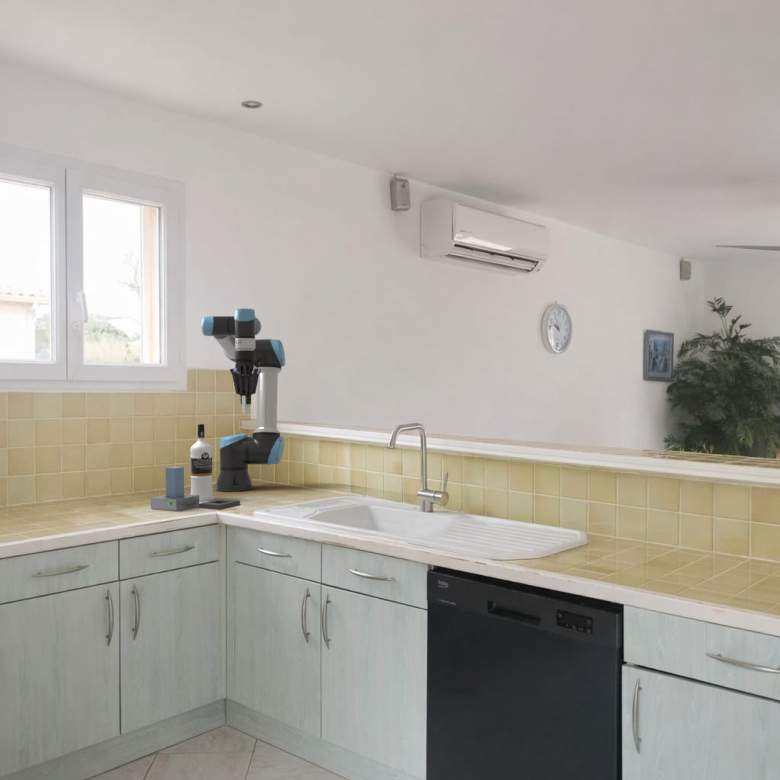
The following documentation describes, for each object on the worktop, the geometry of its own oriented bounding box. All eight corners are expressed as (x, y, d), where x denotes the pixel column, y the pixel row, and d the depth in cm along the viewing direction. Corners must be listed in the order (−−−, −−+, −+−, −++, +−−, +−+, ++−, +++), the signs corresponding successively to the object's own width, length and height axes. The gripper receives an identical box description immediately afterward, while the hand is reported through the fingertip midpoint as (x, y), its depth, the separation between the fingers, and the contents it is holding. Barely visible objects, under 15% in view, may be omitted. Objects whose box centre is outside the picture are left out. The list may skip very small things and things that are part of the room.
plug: (174, 504, 294) (174, 466, 294) (184, 505, 292) (183, 466, 292) (166, 506, 290) (165, 467, 290) (175, 507, 288) (175, 468, 288)
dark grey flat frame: (220, 505, 300) (220, 498, 300) (240, 507, 296) (240, 500, 296) (199, 510, 290) (199, 503, 290) (218, 512, 286) (218, 505, 285)
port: (174, 506, 299) (174, 493, 299) (199, 508, 294) (199, 495, 293) (149, 511, 288) (149, 497, 288) (174, 514, 282) (174, 500, 282)
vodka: (211, 499, 316) (210, 422, 315) (216, 502, 308) (216, 424, 307) (187, 501, 312) (186, 423, 311) (192, 504, 303) (191, 425, 303)
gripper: (224, 350, 301) (225, 413, 301) (253, 349, 295) (253, 413, 295) (237, 350, 307) (238, 412, 308) (265, 349, 301) (266, 412, 302)
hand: (245, 413), depth 301 cm, fingers closed
